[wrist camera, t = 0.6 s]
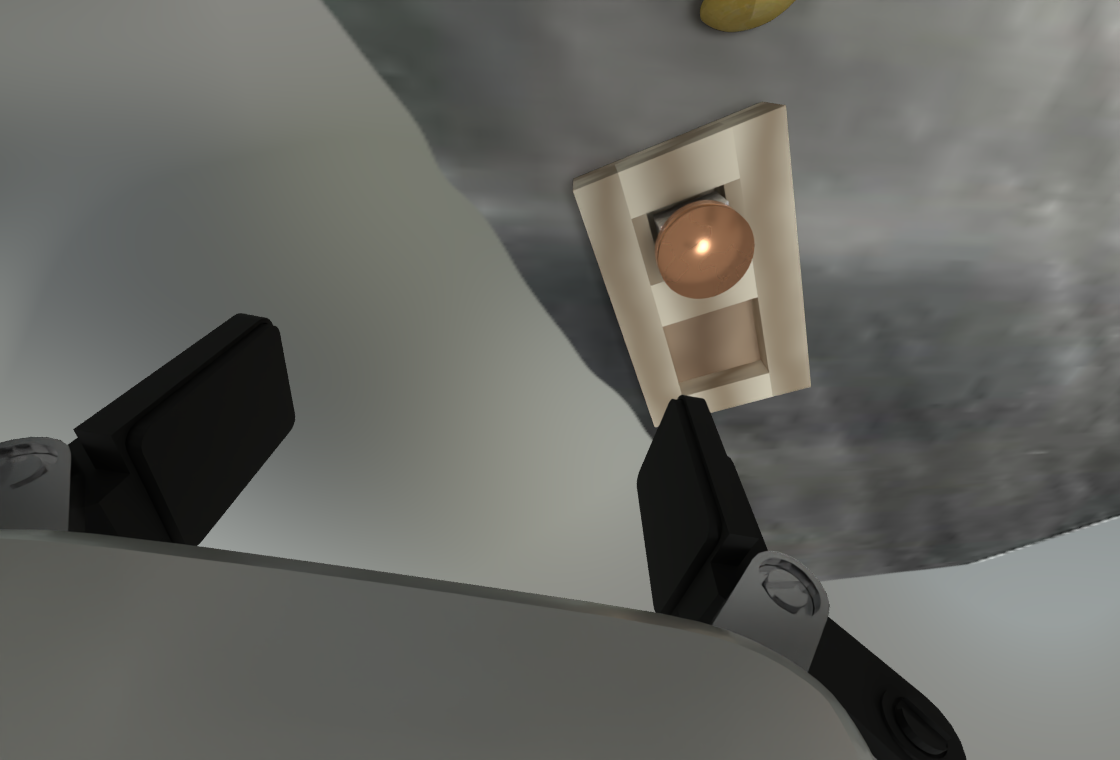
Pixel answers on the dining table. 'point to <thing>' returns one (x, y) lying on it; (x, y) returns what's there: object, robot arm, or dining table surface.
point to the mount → (731, 317)
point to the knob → (741, 13)
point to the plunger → (702, 246)
